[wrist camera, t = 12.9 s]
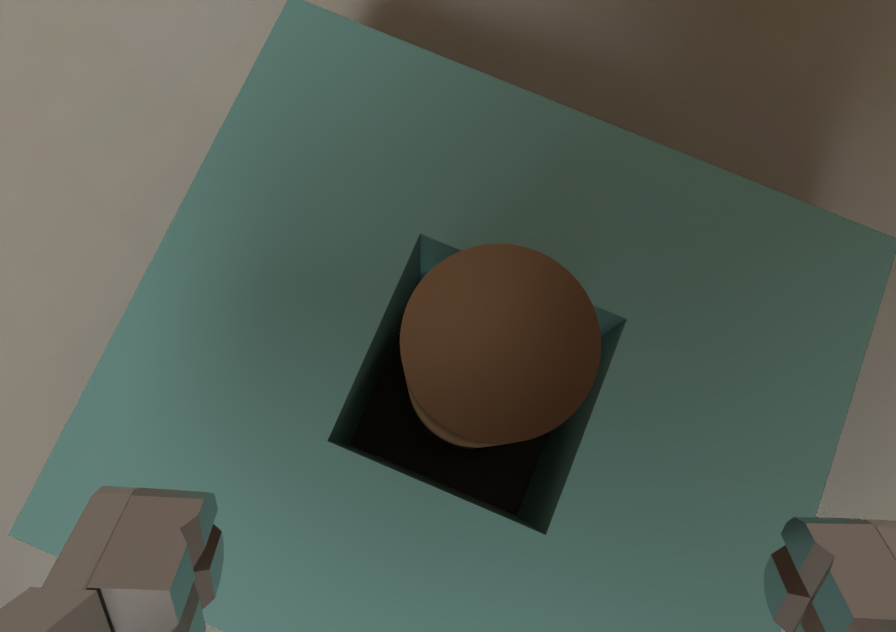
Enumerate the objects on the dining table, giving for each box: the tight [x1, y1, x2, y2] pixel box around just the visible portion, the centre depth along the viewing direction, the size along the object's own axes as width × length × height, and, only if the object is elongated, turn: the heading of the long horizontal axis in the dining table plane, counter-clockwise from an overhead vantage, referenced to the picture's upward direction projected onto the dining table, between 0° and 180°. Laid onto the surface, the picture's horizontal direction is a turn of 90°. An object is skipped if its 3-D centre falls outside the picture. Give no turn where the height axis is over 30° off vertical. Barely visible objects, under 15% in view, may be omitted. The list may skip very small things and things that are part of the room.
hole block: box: [9, 0, 896, 632], centre depth 19 cm, size 16×14×5 cm
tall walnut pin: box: [400, 243, 601, 449], centre depth 16 cm, size 3×3×10 cm
